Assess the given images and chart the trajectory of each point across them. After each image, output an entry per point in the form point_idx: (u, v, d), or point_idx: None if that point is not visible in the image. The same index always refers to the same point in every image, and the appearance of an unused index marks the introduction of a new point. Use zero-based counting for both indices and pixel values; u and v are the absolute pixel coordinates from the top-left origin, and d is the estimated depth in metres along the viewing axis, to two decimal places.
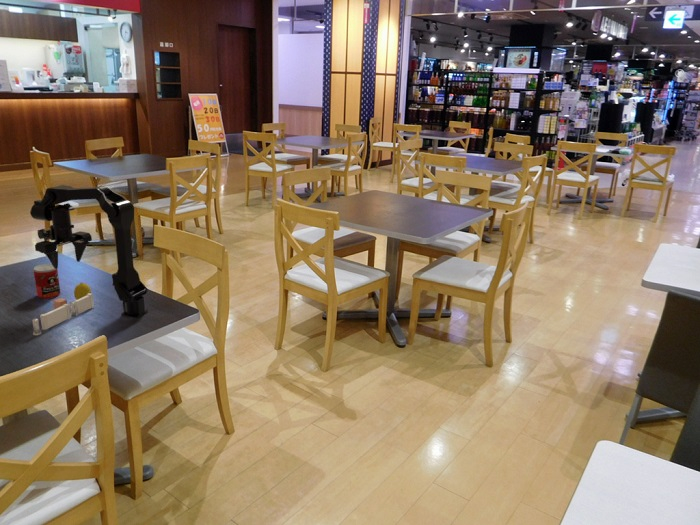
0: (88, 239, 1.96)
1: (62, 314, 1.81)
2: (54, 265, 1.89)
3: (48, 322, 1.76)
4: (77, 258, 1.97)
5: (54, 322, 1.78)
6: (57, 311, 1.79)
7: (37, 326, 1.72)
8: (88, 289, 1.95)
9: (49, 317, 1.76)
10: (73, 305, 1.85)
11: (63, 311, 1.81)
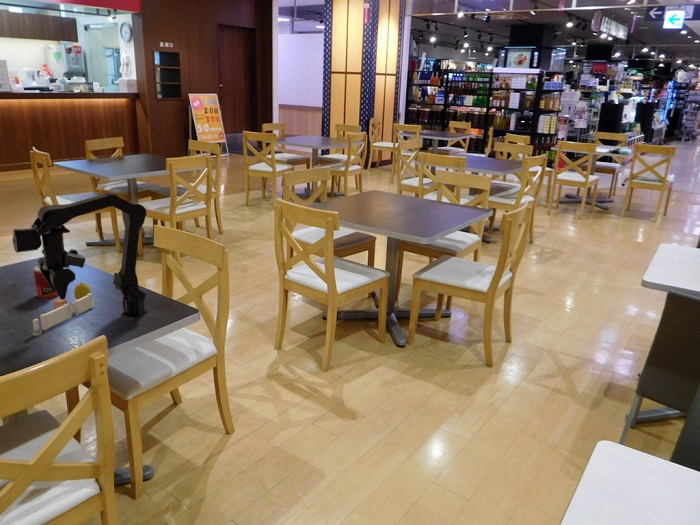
0: (51, 279, 1.63)
1: (62, 314, 1.81)
2: None
3: (48, 322, 1.76)
4: None
5: (54, 322, 1.78)
6: (57, 311, 1.79)
7: (37, 326, 1.72)
8: (88, 289, 1.95)
9: (49, 317, 1.76)
10: (73, 305, 1.85)
11: (63, 311, 1.81)
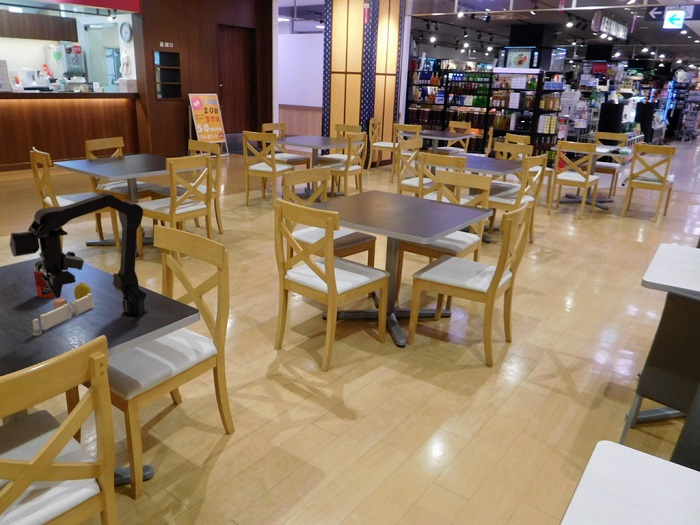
0: (51, 282, 1.62)
1: (62, 314, 1.81)
2: None
3: (48, 322, 1.76)
4: None
5: (54, 322, 1.78)
6: (57, 311, 1.79)
7: (37, 326, 1.72)
8: (88, 289, 1.95)
9: (49, 317, 1.76)
10: (73, 305, 1.85)
11: (63, 311, 1.81)
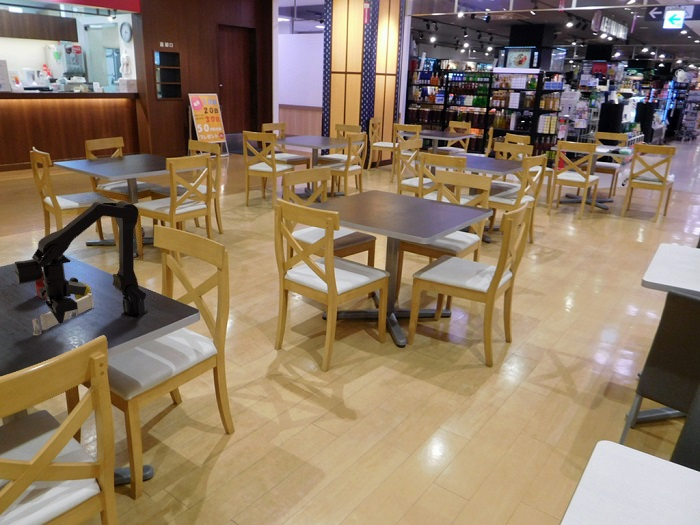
0: (54, 309, 1.65)
1: None
2: None
3: (48, 322, 1.76)
4: None
5: (54, 322, 1.78)
6: None
7: (37, 326, 1.72)
8: (88, 289, 1.95)
9: (49, 317, 1.76)
10: None
11: None
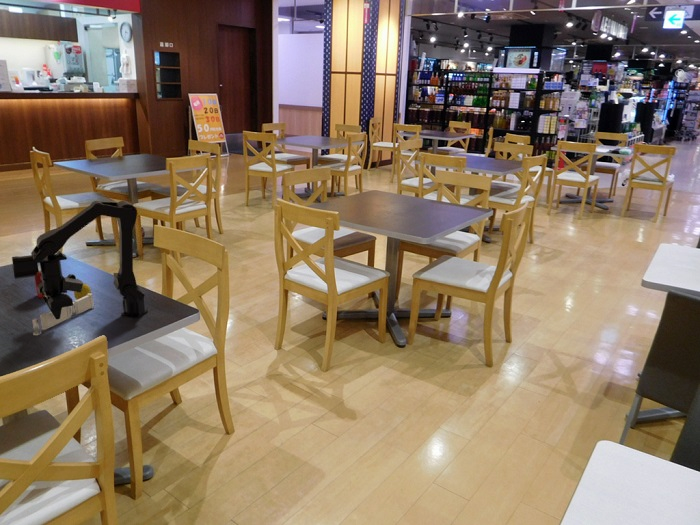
0: (49, 305, 1.67)
1: (62, 314, 1.81)
2: None
3: (48, 322, 1.76)
4: None
5: (54, 322, 1.78)
6: None
7: (37, 326, 1.72)
8: (88, 289, 1.95)
9: (48, 317, 1.76)
10: (73, 305, 1.85)
11: (63, 311, 1.81)
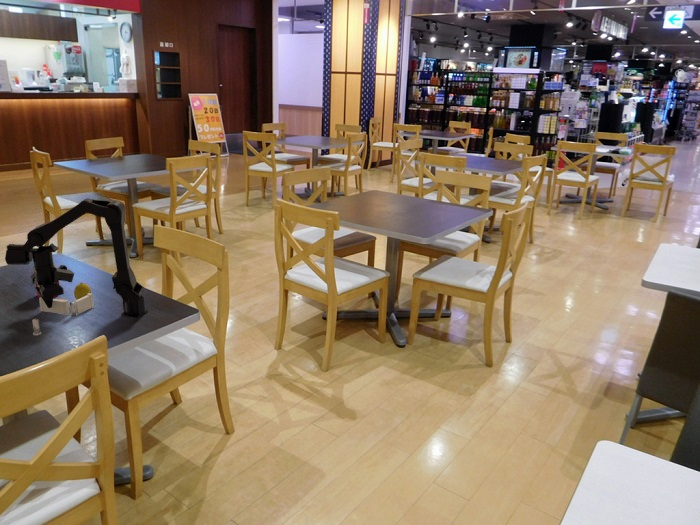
0: (41, 294, 1.75)
1: (58, 307, 1.86)
2: None
3: (44, 306, 1.88)
4: None
5: (50, 309, 1.87)
6: (53, 301, 1.86)
7: (37, 326, 1.72)
8: (88, 289, 1.95)
9: (44, 302, 1.87)
10: (73, 305, 1.85)
11: (59, 305, 1.86)
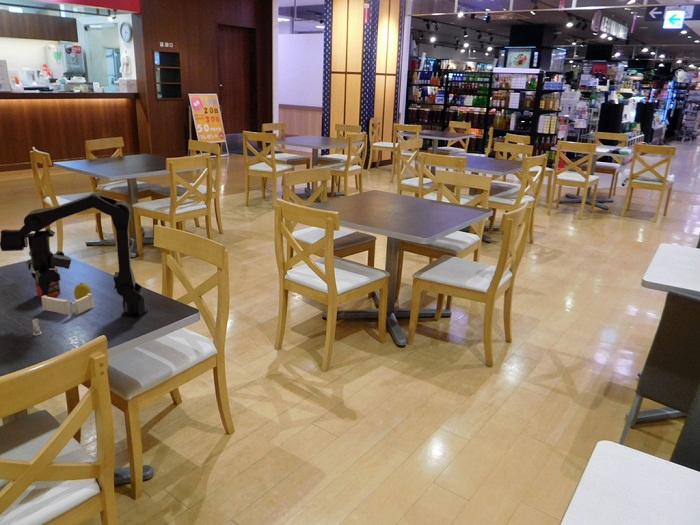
0: (37, 280, 1.70)
1: (59, 306, 1.87)
2: None
3: (46, 305, 1.88)
4: None
5: (51, 308, 1.88)
6: (54, 301, 1.87)
7: (37, 326, 1.72)
8: (88, 289, 1.95)
9: (46, 301, 1.88)
10: (73, 305, 1.85)
11: (60, 304, 1.86)
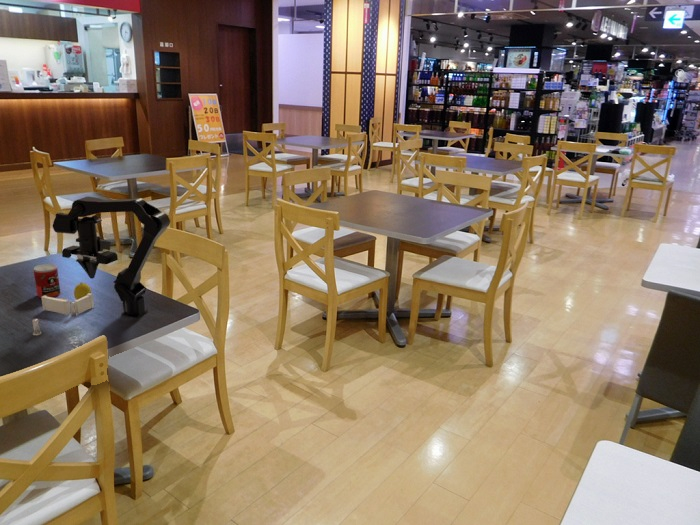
0: (101, 261, 1.81)
1: (59, 306, 1.87)
2: None
3: (46, 305, 1.88)
4: None
5: (51, 308, 1.88)
6: (54, 301, 1.87)
7: (37, 326, 1.72)
8: (88, 289, 1.95)
9: (46, 301, 1.88)
10: (73, 305, 1.85)
11: (60, 304, 1.86)
